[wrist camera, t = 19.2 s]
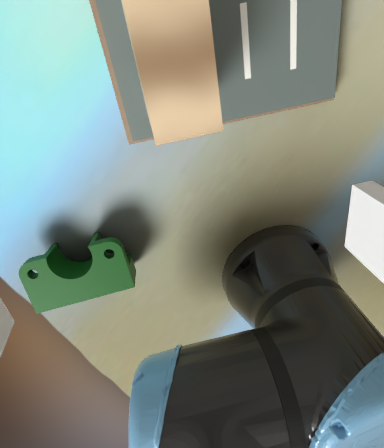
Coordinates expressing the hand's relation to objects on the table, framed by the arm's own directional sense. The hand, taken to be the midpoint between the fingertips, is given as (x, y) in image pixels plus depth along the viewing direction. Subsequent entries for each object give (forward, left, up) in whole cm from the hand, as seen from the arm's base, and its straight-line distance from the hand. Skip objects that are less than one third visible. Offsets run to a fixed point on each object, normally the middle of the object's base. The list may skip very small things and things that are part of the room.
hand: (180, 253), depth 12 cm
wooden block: (+5, -3, -22) cm, 23 cm away
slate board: (+5, -9, -25) cm, 26 cm away
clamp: (-15, +11, -25) cm, 31 cm away
